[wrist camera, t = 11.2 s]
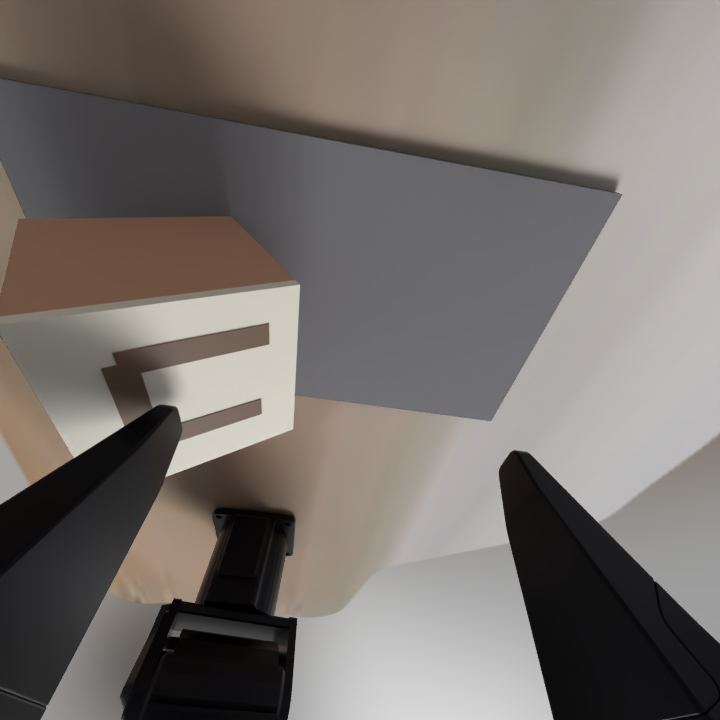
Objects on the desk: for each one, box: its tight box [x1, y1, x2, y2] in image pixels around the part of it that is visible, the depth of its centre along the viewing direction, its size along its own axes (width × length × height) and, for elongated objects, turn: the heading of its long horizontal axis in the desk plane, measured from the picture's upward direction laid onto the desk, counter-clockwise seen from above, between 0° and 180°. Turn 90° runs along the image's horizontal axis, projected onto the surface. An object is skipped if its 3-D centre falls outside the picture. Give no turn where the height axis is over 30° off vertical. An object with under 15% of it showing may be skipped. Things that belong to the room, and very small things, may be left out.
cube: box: [0, 216, 300, 477], centre depth 11 cm, size 6×6×6 cm
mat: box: [0, 78, 622, 421], centre depth 15 cm, size 12×22×1 cm, turn 81°
